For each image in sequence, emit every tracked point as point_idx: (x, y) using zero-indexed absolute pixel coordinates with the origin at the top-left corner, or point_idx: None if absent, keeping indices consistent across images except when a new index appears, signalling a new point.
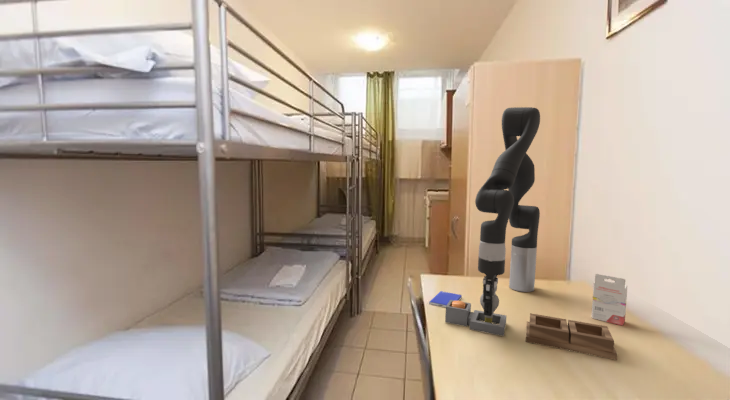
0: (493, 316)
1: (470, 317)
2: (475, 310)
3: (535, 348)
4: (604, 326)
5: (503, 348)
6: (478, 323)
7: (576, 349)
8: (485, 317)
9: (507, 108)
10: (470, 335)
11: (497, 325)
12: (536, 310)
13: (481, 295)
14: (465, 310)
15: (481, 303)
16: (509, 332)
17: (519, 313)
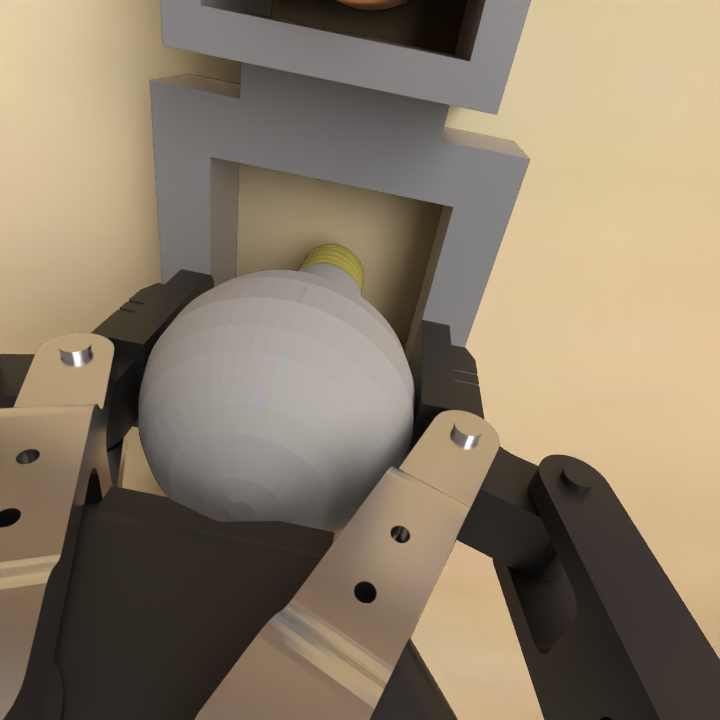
0: (413, 338)
1: (260, 92)
2: (509, 169)
3: (126, 471)
4: None
5: (11, 320)
6: (159, 181)
7: None
8: (309, 266)
9: None
10: (63, 82)
11: None
12: (701, 592)
13: (253, 341)
14: (161, 7)
15: (216, 286)
16: None
17: (644, 504)
